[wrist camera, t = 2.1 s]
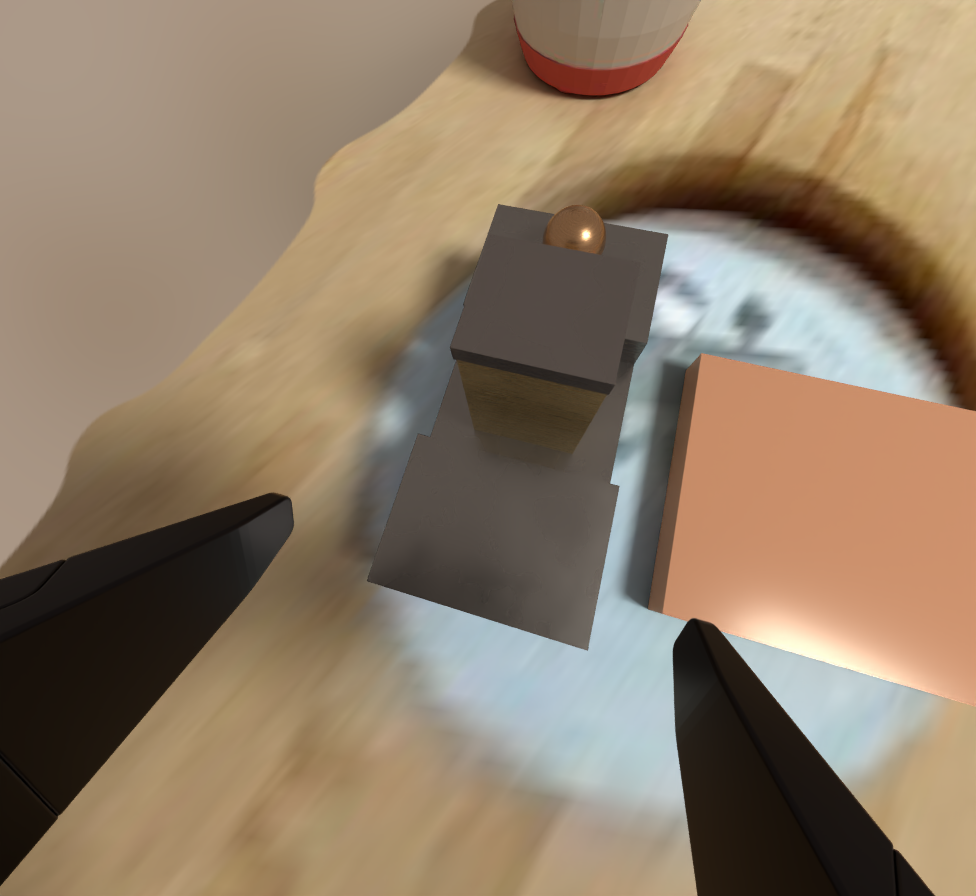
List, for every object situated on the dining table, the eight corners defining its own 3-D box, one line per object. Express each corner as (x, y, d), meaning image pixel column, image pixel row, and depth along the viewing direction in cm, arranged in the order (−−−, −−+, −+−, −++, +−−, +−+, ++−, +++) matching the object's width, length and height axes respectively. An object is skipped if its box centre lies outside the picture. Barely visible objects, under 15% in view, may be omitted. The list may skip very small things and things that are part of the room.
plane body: (566, 627, 20) (602, 667, 12) (402, 576, 21) (341, 584, 13) (634, 303, 25) (690, 189, 18) (500, 276, 26) (497, 157, 19)
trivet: (950, 698, 18) (1001, 714, 16) (647, 609, 20) (662, 613, 18) (940, 426, 22) (982, 412, 20) (685, 370, 24) (701, 353, 22)
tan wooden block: (571, 457, 19) (614, 385, 11) (472, 432, 20) (450, 347, 12) (590, 377, 20) (641, 262, 12) (496, 356, 21) (489, 234, 13)
